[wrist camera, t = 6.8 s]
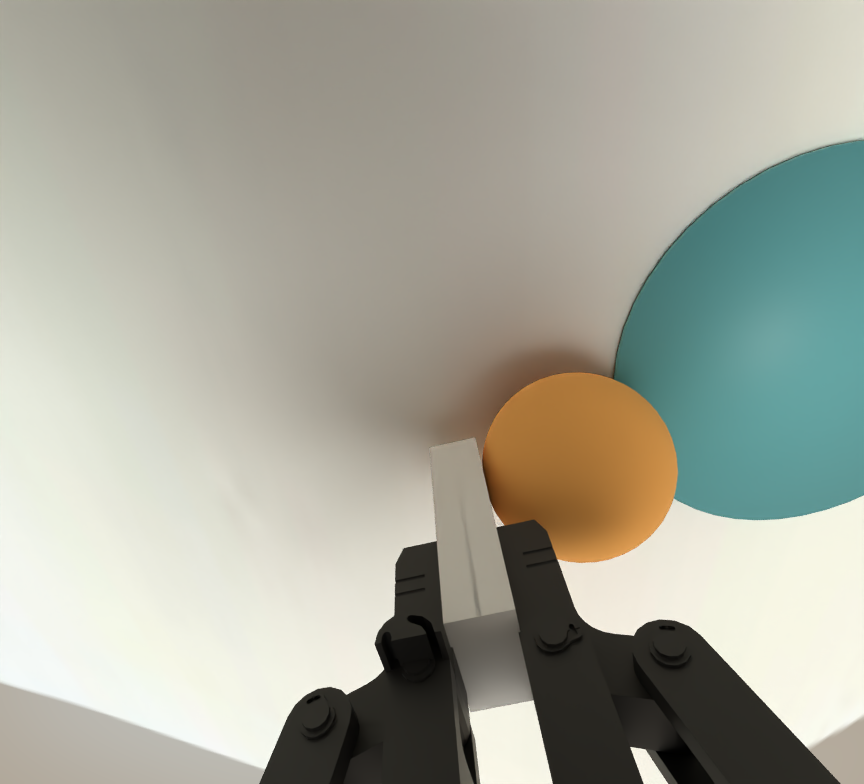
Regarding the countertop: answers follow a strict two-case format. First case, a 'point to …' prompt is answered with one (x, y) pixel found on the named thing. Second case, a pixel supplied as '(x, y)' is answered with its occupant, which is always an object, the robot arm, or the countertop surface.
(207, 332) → the countertop surface
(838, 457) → the disc
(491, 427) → the ball
